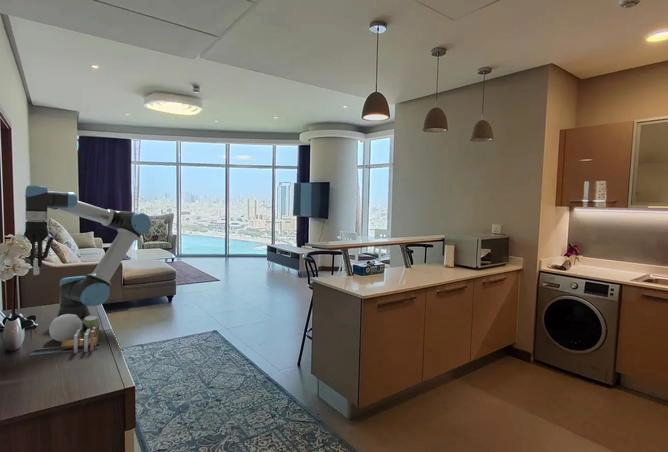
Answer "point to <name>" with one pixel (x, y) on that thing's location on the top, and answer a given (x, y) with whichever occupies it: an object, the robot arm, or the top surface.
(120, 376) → the top surface
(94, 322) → the beverage can
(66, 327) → the decorative ball
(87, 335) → the collar
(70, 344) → the copper tube
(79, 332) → the collar
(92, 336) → the aperture bridge
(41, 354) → the grey open frame rack
